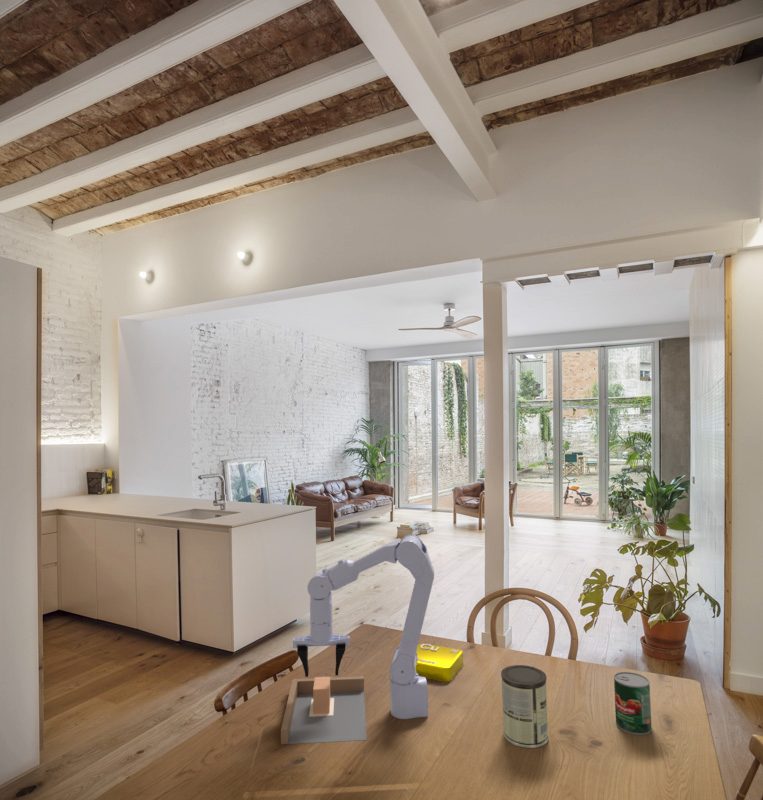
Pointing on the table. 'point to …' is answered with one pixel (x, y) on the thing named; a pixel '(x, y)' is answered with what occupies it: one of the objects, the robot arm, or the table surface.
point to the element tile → (438, 662)
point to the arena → (332, 727)
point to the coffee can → (524, 706)
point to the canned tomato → (632, 703)
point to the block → (321, 695)
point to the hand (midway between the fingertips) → (321, 674)
